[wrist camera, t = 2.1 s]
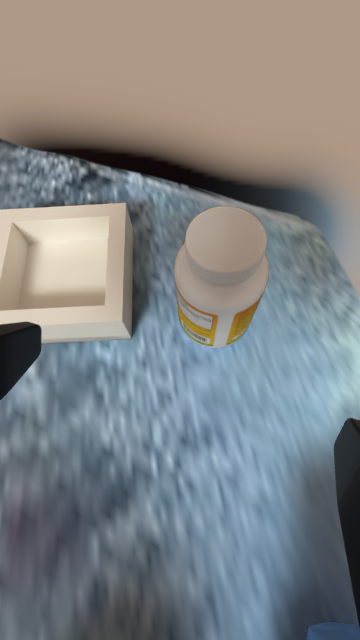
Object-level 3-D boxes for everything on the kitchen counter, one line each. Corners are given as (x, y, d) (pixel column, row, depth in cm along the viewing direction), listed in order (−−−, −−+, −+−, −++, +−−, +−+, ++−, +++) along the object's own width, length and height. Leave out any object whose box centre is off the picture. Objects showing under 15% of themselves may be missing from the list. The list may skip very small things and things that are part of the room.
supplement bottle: (243, 282, 26) (271, 189, 17) (254, 346, 24) (293, 280, 15) (176, 287, 26) (167, 198, 17) (181, 352, 24) (174, 290, 15)
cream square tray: (131, 338, 24) (122, 321, 21) (1, 345, 24) (-28, 328, 21) (133, 231, 28) (125, 202, 25) (21, 238, 28) (-1, 210, 25)
